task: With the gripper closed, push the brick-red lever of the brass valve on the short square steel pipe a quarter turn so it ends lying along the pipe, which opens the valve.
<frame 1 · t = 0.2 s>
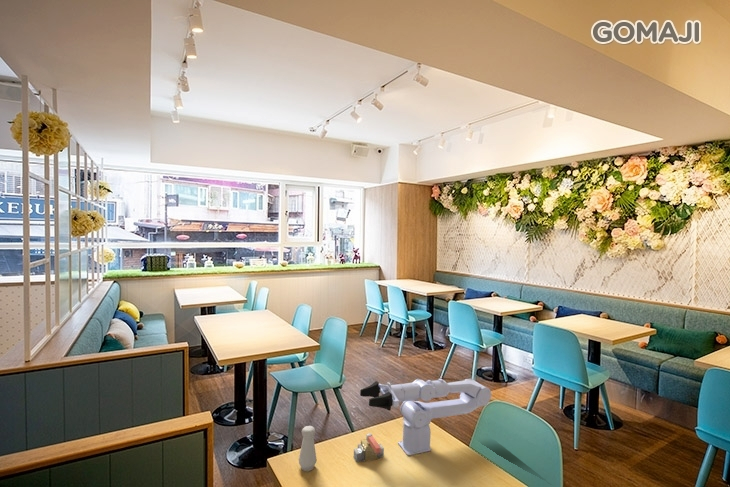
hand: (364, 397, 122), 21 cm above the table, tool horizontal, fingers open, 7 cm apart
lever: (373, 442, 120), point 7 cm above the table, hinge at 90.0°
valve base: (368, 456, 124), on the table
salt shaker: (307, 468, 117), on the table
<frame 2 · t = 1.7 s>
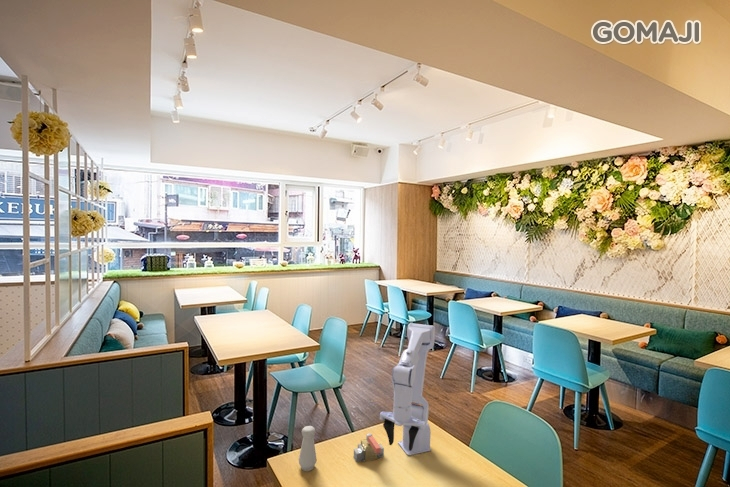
hand: (401, 446, 115), 9 cm above the table, tool pointing down, fingers open, 6 cm apart
nothing on the table moved.
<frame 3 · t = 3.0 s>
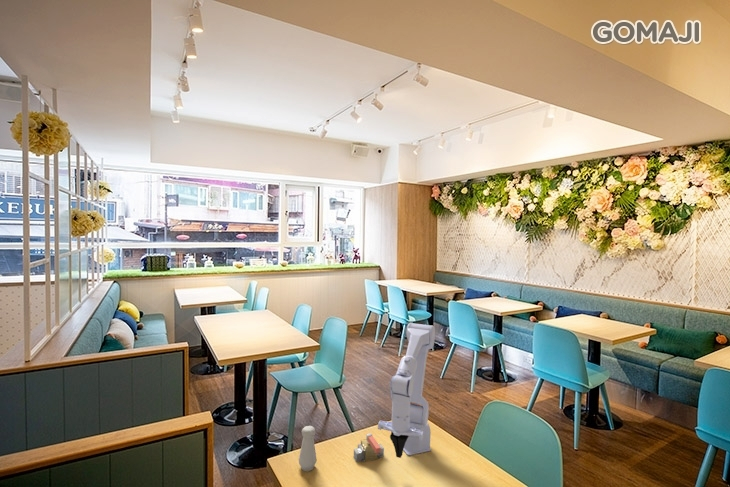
hand: (399, 455, 115), 6 cm above the table, tool pointing down, fingers closed
nothing on the table moved.
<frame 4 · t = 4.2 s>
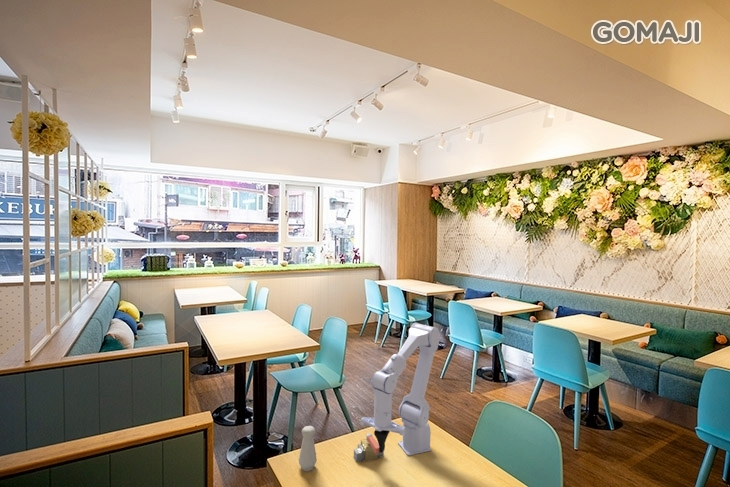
hand: (381, 451, 117), 6 cm above the table, tool pointing down, fingers closed, pressing on lever
lever: (372, 442, 120), point 7 cm above the table, hinge at 88.9°, touching gripper
everything else where it was.
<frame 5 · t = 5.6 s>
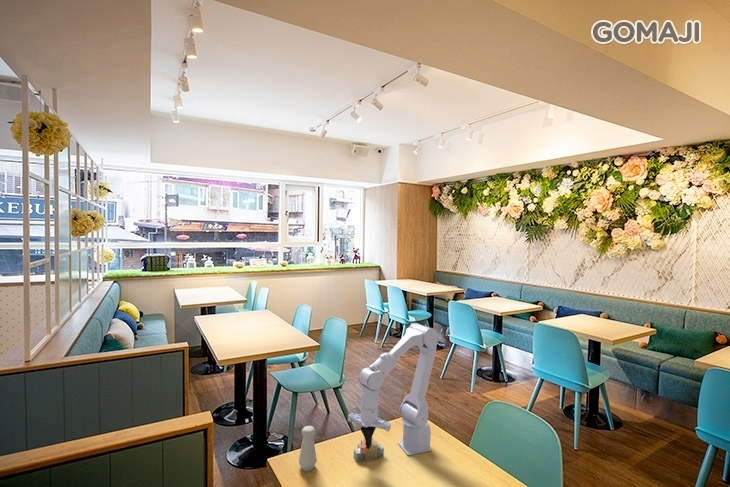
hand: (368, 447, 119), 6 cm above the table, tool pointing down, fingers closed, pressing on lever
lever: (366, 442, 120), point 7 cm above the table, hinge at 52.3°, touching gripper
everything else where it was.
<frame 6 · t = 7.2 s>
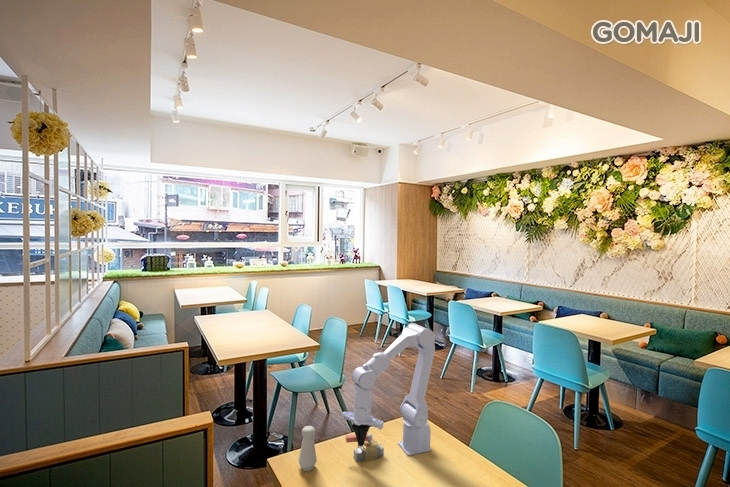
hand: (361, 444, 120), 6 cm above the table, tool pointing down, fingers closed
lever: (359, 437, 123), point 7 cm above the table, hinge at -10.4°
everything else where it was.
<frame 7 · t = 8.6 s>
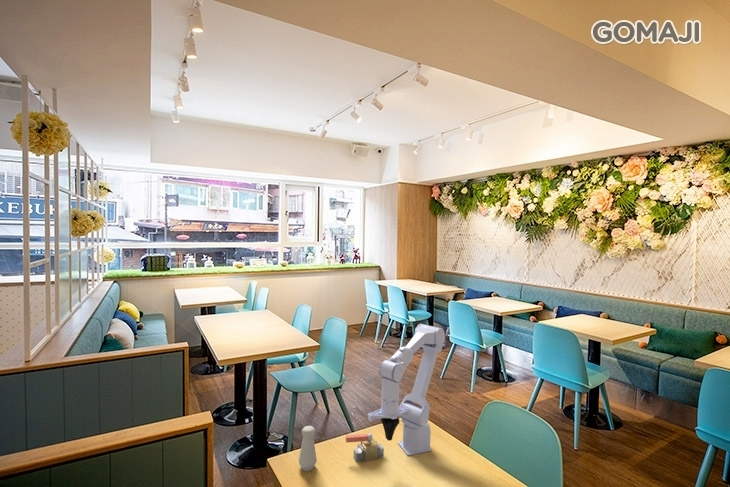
hand: (388, 438, 118), 9 cm above the table, tool pointing down, fingers closed
nothing on the table moved.
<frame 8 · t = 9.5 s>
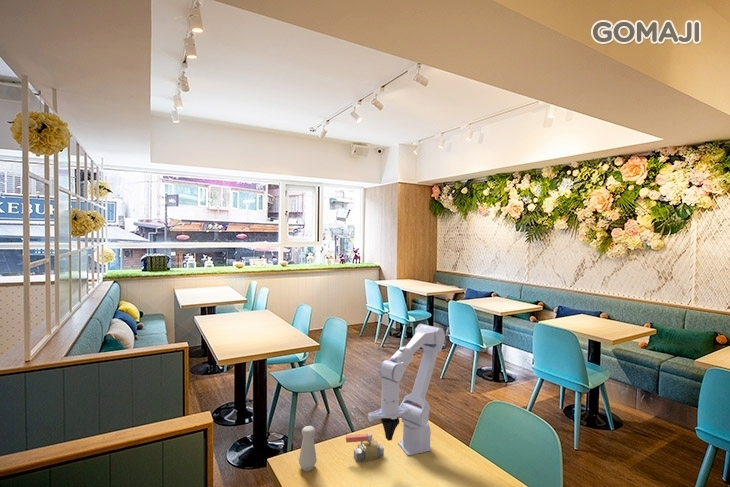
hand: (388, 438, 118), 9 cm above the table, tool pointing down, fingers closed
nothing on the table moved.
at the end: lever at -11° (first picture: +90°); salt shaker moved 0.2 cm from its start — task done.
